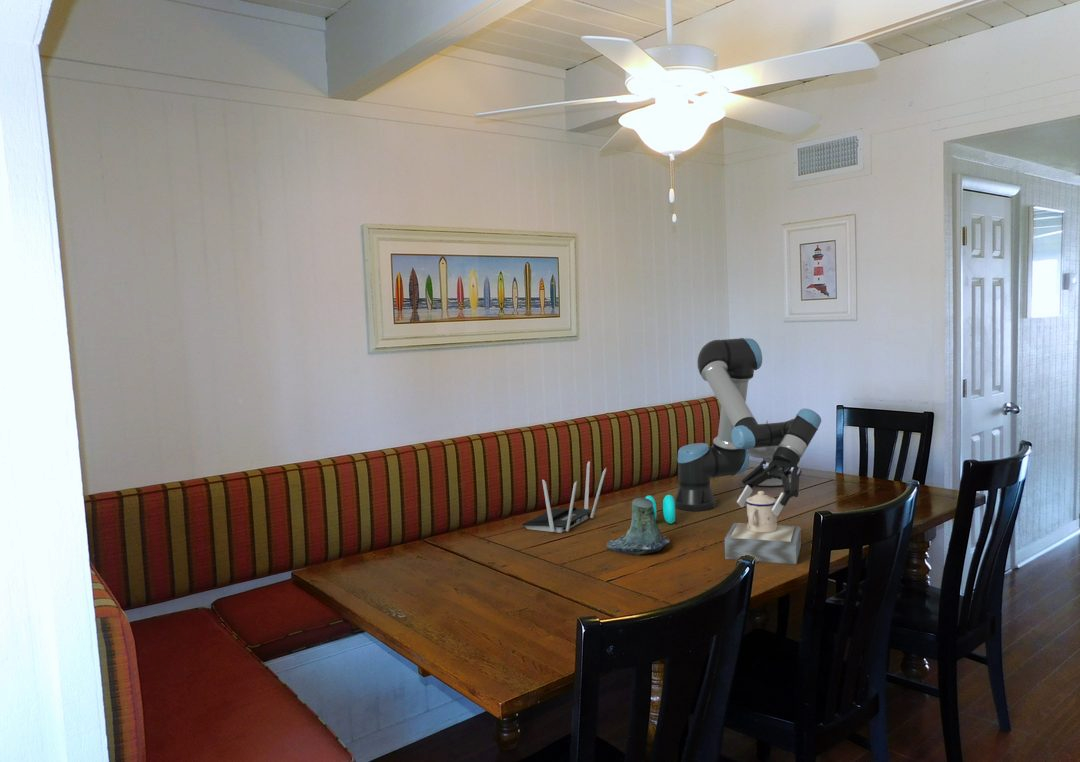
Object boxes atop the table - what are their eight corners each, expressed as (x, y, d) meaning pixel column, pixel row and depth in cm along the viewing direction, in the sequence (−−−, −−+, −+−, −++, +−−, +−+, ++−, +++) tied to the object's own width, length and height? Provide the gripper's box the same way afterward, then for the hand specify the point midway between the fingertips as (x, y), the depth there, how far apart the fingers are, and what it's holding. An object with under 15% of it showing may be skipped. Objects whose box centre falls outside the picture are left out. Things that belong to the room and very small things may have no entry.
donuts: (676, 526, 261) (675, 498, 260) (647, 527, 261) (646, 499, 261) (673, 519, 271) (672, 491, 270) (644, 520, 271) (643, 492, 271)
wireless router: (561, 511, 290) (558, 459, 289) (615, 516, 278) (613, 462, 277) (513, 534, 262) (510, 477, 260) (571, 541, 250) (568, 481, 248)
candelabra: (830, 486, 309) (828, 420, 307) (753, 495, 300) (751, 427, 298) (782, 471, 342) (780, 411, 340) (712, 479, 333) (710, 417, 331)
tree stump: (650, 536, 253) (656, 484, 248) (679, 568, 234) (687, 514, 229) (596, 540, 247) (602, 488, 242) (622, 575, 228) (629, 518, 223)
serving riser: (725, 558, 224) (724, 537, 223) (734, 541, 240) (733, 521, 240) (796, 564, 216) (795, 541, 216) (800, 545, 233) (800, 525, 232)
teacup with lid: (754, 523, 236) (753, 486, 235) (782, 527, 230) (781, 489, 229) (737, 533, 227) (736, 494, 226) (766, 537, 221) (765, 498, 220)
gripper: (829, 465, 225) (796, 524, 219) (764, 455, 247) (732, 508, 240) (817, 450, 222) (783, 509, 216) (752, 441, 243) (719, 494, 237)
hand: (756, 509), depth 228 cm, fingers open, 13 cm apart
